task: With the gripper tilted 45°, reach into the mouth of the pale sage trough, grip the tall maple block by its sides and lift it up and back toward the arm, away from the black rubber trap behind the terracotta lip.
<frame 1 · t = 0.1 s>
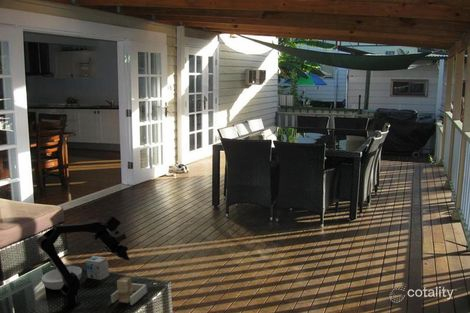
hand: (124, 257, 249), 15 cm above the table, tool tilted 35°, fingers open, 9 cm apart
trap trough: (129, 297, 236), on the table
maple block: (126, 300, 233), on the table
light bulb box: (98, 277, 265), on the table
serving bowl: (63, 285, 257), on the table
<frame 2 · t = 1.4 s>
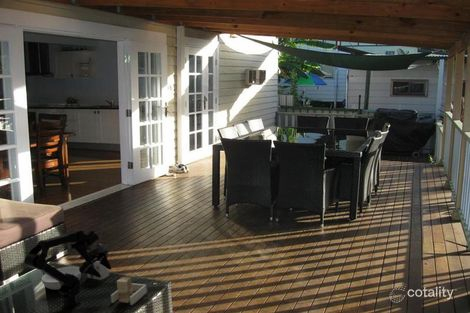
hand: (105, 272, 235), 14 cm above the table, tool tilted 45°, fingers open, 9 cm apart
nothing on the table moved.
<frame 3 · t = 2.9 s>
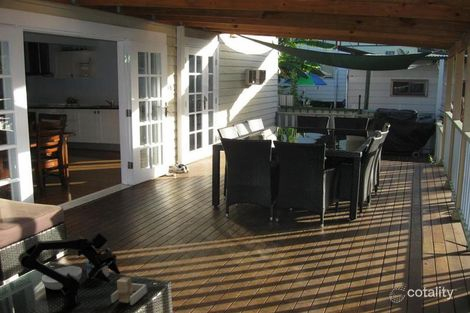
hand: (114, 277, 233), 11 cm above the table, tool tilted 45°, fingers open, 9 cm apart
nothing on the table moved.
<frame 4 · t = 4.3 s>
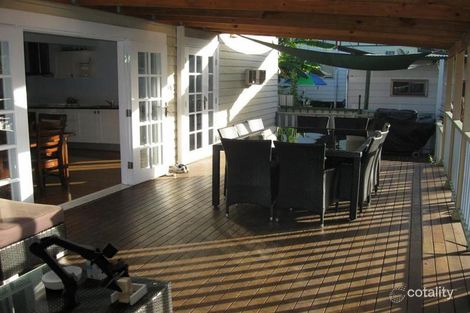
hand: (127, 287, 231), 7 cm above the table, tool tilted 45°, fingers open, 9 cm apart
nothing on the table moved.
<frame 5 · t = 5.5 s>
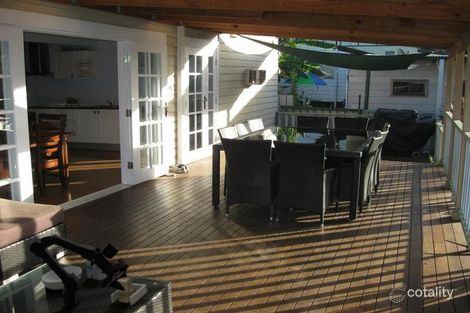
hand: (127, 287, 231), 7 cm above the table, tool tilted 45°, fingers closed on maple block, 5 cm apart
maple block: (126, 300, 233), on the table, touching gripper
everything else where it was.
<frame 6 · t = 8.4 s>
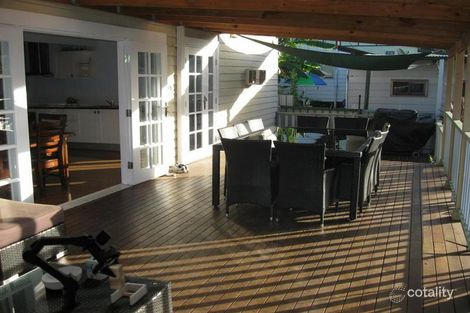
hand: (118, 274, 231), 13 cm above the table, tool tilted 45°, fingers closed on maple block, 5 cm apart
maple block: (118, 287, 233), point 7 cm above the table, touching gripper
everything else where it was.
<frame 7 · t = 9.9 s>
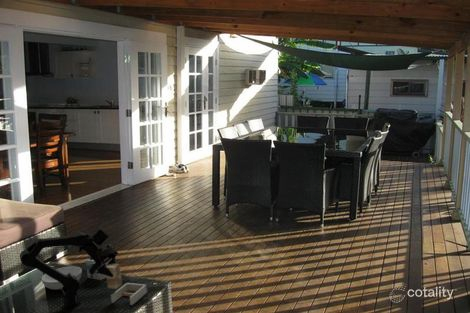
hand: (115, 274, 232), 14 cm above the table, tool tilted 45°, fingers closed on maple block, 5 cm apart
maple block: (115, 286, 234), point 7 cm above the table, touching gripper
everything else where it was.
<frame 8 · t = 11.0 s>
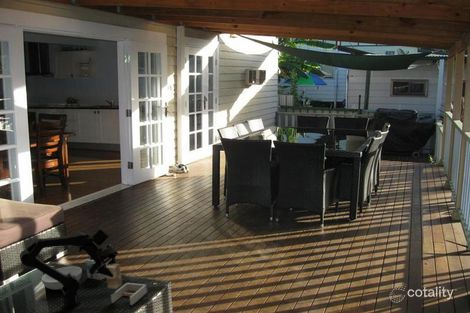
hand: (115, 274, 232), 14 cm above the table, tool tilted 45°, fingers closed on maple block, 5 cm apart
maple block: (115, 286, 234), point 7 cm above the table, touching gripper
everything else where it was.
at the end: the gripper is holding maple block; maple block inside the target area (0.5 cm from its centre), point 6.9 cm above the table; maple block touching gripper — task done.
